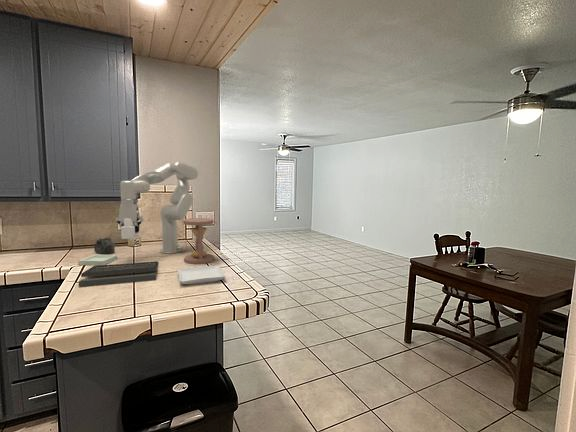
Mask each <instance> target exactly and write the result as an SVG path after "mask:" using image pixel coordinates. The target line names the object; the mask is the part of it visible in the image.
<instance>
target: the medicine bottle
mask: <svg viewBox="0 0 576 432" xmlns="http://www.w3.org/2000/svg"><path fill="white" fill-rule="evenodd" d="M135 226H136V225H135V223H134V222H132V220H131V219H129V218H125V219H124V226H122V227H120V236H121V238H120V239H121V240H134V239H137V238H138V237H140V231H139V232H137V233H135Z"/></svg>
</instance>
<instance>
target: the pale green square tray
mask: <svg viewBox="0 0 576 432" xmlns="http://www.w3.org/2000/svg"><path fill="white" fill-rule="evenodd" d="M116 260H118V255H117V254H92V255H89V256H87V257H84V258H81V259H80V260H78V261H77V263H78V264H77V265H78V266H99V265H109V264H110V263H112V262H114V261H116Z"/></svg>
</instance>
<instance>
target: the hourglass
mask: <svg viewBox="0 0 576 432" xmlns="http://www.w3.org/2000/svg"><path fill="white" fill-rule="evenodd" d="M182 220H183V223H182V224H183V225H187V226H195V227H191V228H190V230H191V232H192V233H193V235H194V236H195V238H196V239H195V241H194V242H195V243H194V244H195V250H194V251H192V252H191V254H188V255H187V254H186V255H185V256H184V258H183V261H184V263H186V264H188V265H189V264H190V265H203V264H208V263H209V264H210V263H212V262H213V261H214V260H215V256H214V255H213V254H211V253H208V252H207V251H205V250H204V244H203V239H204V235H205V233H206V231H207V229H208V228H207V227H204V226H208V225H214V222H215V220H214V219H213V218H208V217H192V218H184V219H182Z"/></svg>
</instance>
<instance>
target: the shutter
mask: <svg viewBox="0 0 576 432" xmlns="http://www.w3.org/2000/svg"><path fill="white" fill-rule="evenodd" d="M158 266H159V260H157V261H156V260H155V261H145V262H143V261H142V262H130V263H114V264H106V265H92V267H90V268H88V269H87V270H84V271H83V272H81V274H80V277H81V278H82V279H80V280H79V281H78V288H87V287H95V286H96V287H97V286H99V287H100V286H108V285H109V286H110V285H119V284H130V283H139V282H151V281H157V273H156V271H157V270H158ZM145 272H146V273H145ZM149 272H155V273H149ZM136 273H141V274H136ZM142 273H143V274H142ZM122 274H128V275H122ZM129 274H130V275H129ZM112 275H113V276H112ZM114 275H118V276H114ZM119 275H120V276H119ZM98 276H99V277H98ZM100 276H109V277H100ZM88 277H97V278H88Z"/></svg>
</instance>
